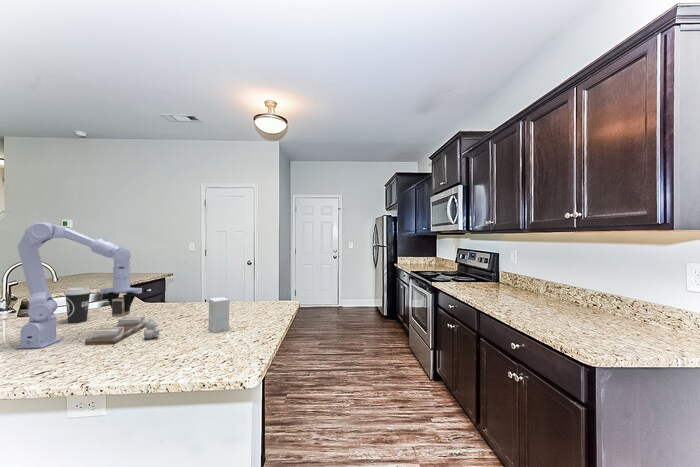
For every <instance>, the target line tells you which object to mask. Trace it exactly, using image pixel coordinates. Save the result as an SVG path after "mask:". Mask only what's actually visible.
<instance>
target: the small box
mask: <svg viewBox="0 0 700 467" xmlns="http://www.w3.org/2000/svg"><path fill="white" fill-rule="evenodd" d="M207 322H208V324H207V325H208V326H207V329H209V330H210V332H212V333H222V332H227V331H230V299H228V298H226V297H224V296H221V297H218V296H217V297H211V298H208V321H207Z"/></svg>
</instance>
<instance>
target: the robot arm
mask: <svg viewBox="0 0 700 467" xmlns="http://www.w3.org/2000/svg"><path fill="white" fill-rule="evenodd" d="M52 239H68V240H70V241H73V242H76V243H78V244H81V245H84V246H86V247H88V248H90V251H91V252H92V253H94V254H98V255H100V256H102V257H105V258H108V259H113V267H112V287H110V288H109V287H107V288H106V287H105V288H104V287H103V288H100V289H99V292H100V295H104V294H105V298H106V300H107V301H108V302H109V305H110V308H111V309H112V299H115V298H118V297H120V294H123V295H122V297H124V302H125V312H128V311H130V312H131V306H132V305H133V304H132V303H133V301H134V300H135V297H137V294H139V295H140V294H143V288H142V287H131V260H130V259H131V258H132V254H131V251H130V250H129V249H128V248H126V247H123V246H122V245H121V244H115V243H112V241H111V242H110V241H109V240H108V239H107V238H96V239H94V238H92V237H89V236H87V235H85V234H83V233H80V232H78V231H76V230H74V229H71V228H68V227H65V226H62V225H58V224H54V223H52V222H45V221H37V222H34V223H32V224H30V226H28V227H27V228H25V230H24V233H23V236H22V237H21V239H20V241H19V243H18V245H17V251H18V255H19V257H20V263H21V266H22V270H23V274H24V277H25V281H26V282H25V283H26V285H27V289H28V294H29V299H28V305H29V307H28V309H27V316H28V317H29V318H28V321H27V323H26V324H23V326H22V327H21V329H20V334H19V335H20V337H19V338H20V342H19V346H17V349H41V348H45V347H47V346H49V345H52V344H54V343H56V342H57V343H58V342H59V341H61V340H63V338H62V337H57V315H56V314H55V313H54V312H56V310H57V309H58V303H57V301H56V300H55V299H54V298H53V296H52V294H51V292H50V291H49V288H48V284H47V279H46V276H45V270H44V267H43V264H42V263H43V262H42V259H41V255H40V250H39V249H40V248H41V247H42V246H43V245H44V244H46V242H48V241H50V240H52ZM121 246H122V247H121ZM106 294H107V295H106Z"/></svg>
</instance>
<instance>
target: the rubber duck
mask: <svg viewBox="0 0 700 467" xmlns="http://www.w3.org/2000/svg"><path fill="white" fill-rule="evenodd" d="M149 320H150V321H148V323H147V325H146V327H145V328H146V329H144V330H143V337H144V338H145V339H151V340H152V339H154V338H156V337H159V336H160V332H161V329H160V328H157V322H156V321H155V320H154V319H152V318H151V317H150V319H149Z"/></svg>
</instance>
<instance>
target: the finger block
mask: <svg viewBox="0 0 700 467" xmlns="http://www.w3.org/2000/svg"><path fill="white" fill-rule="evenodd" d="M128 315H131V310H130V311H128V312H125V302H124V297H123V296H119V297H118V298H115V299H112V308H111V317H112V318H123V317H127V316H128Z"/></svg>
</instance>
